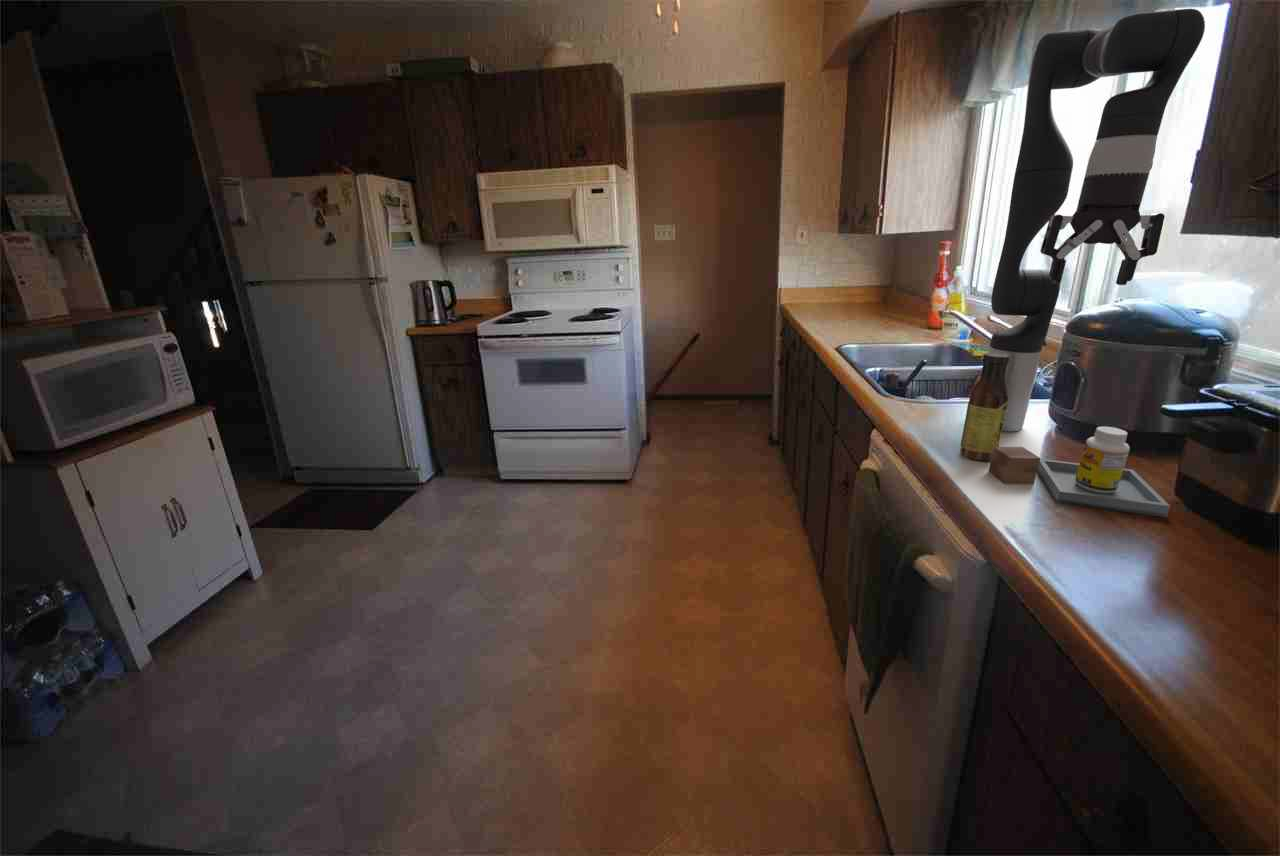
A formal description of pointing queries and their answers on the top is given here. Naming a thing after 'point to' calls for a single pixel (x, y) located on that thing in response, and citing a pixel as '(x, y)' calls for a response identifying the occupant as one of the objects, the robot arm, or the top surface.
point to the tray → (1126, 498)
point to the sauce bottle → (986, 409)
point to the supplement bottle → (1103, 460)
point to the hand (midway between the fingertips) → (1087, 284)
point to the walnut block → (1014, 465)
